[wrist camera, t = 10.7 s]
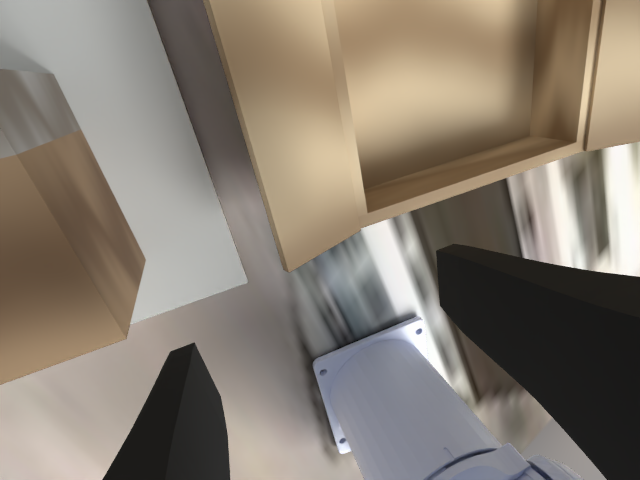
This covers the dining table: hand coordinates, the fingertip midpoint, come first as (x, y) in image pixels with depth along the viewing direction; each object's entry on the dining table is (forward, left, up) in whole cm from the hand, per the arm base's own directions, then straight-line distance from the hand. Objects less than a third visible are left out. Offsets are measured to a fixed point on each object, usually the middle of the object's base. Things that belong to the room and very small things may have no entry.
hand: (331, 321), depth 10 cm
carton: (+6, -10, -9) cm, 15 cm away
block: (+4, +8, -9) cm, 13 cm away
